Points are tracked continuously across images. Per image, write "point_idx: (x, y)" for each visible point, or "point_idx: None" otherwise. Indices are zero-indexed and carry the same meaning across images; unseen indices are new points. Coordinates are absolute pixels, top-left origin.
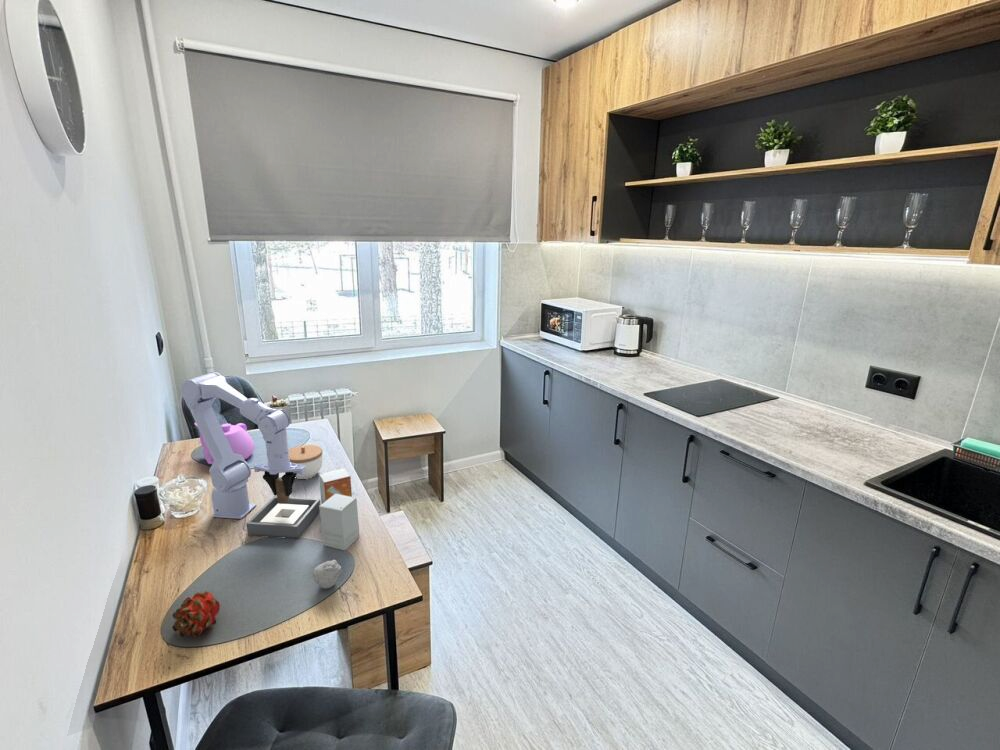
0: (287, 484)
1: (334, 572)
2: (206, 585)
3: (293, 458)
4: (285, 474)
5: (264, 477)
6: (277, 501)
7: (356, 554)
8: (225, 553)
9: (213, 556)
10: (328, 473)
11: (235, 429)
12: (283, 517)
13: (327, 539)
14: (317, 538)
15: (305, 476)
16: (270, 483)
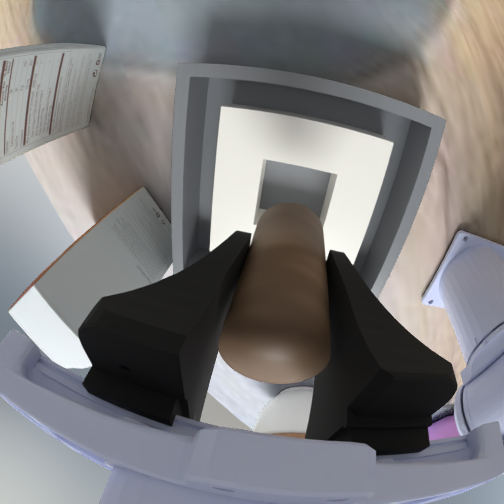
0: (178, 278)
1: None
2: None
3: None
4: (170, 393)
5: (442, 376)
6: None
7: (33, 42)
8: (452, 21)
9: (478, 21)
10: (76, 355)
11: None
12: (313, 210)
13: (73, 44)
14: (136, 78)
15: (294, 393)
16: (371, 318)
